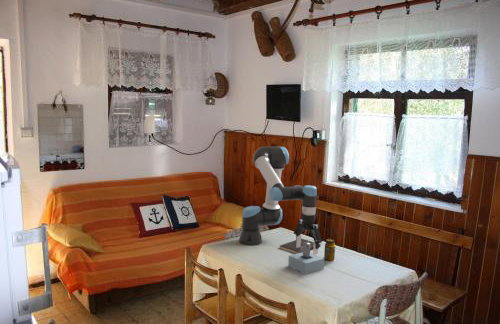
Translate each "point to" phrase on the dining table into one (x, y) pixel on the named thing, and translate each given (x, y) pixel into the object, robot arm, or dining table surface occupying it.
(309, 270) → the hole block
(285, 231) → the dining table surface
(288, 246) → the hardcover book
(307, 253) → the long pin
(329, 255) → the condiment
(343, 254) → the dining table surface
